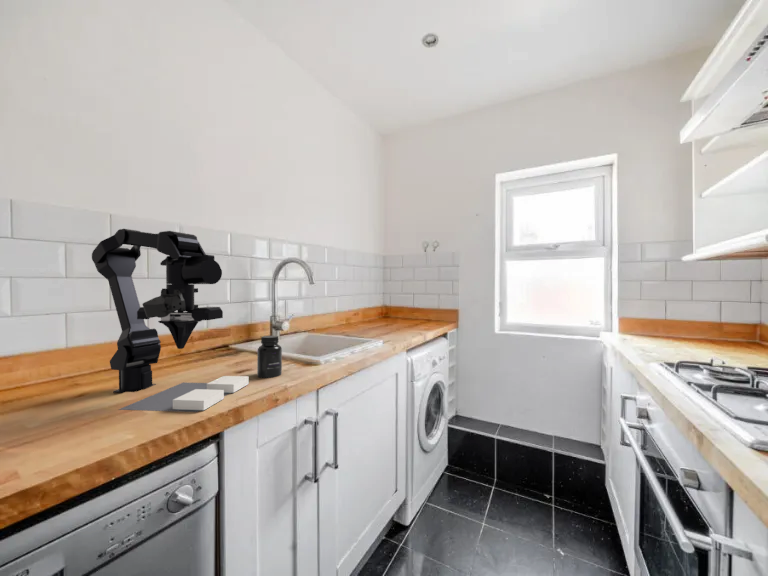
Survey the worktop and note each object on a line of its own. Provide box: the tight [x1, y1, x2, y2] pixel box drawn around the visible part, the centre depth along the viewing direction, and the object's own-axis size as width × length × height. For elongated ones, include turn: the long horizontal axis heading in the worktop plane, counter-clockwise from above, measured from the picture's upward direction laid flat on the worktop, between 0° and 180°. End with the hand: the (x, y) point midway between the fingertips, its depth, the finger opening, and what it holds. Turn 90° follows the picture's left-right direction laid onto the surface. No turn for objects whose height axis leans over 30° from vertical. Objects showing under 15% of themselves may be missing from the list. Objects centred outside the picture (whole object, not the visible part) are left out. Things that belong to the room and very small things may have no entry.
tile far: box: [207, 375, 250, 394], centre depth 81 cm, size 2×7×7 cm
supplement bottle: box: [256, 335, 283, 379], centre depth 93 cm, size 7×7×12 cm
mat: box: [118, 382, 231, 413], centre depth 76 cm, size 18×19×1 cm
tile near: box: [173, 389, 225, 412], centre depth 70 cm, size 2×7×7 cm
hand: (180, 348), depth 76 cm, fingers closed
